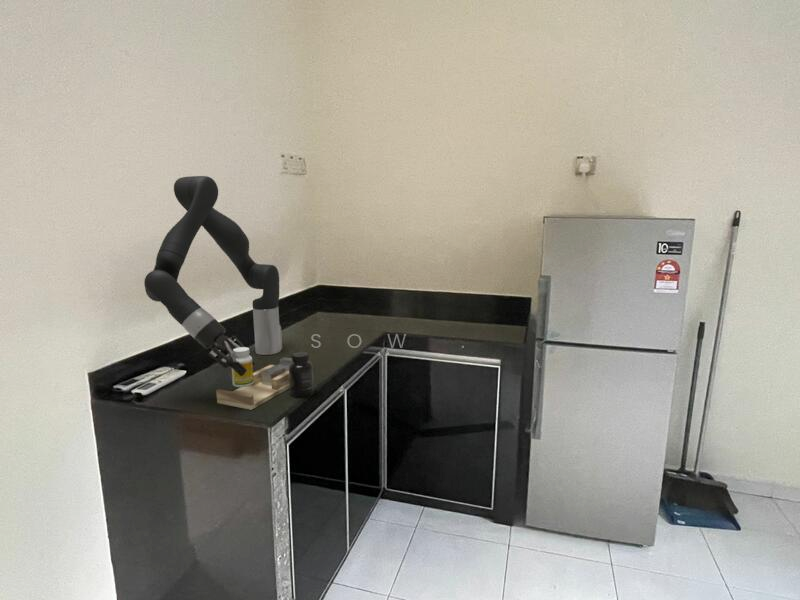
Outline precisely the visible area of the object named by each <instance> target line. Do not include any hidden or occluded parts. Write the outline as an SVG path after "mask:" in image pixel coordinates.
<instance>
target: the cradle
mask: <svg viewBox="0 0 800 600" xmlns="http://www.w3.org/2000/svg"><path fill="white" fill-rule="evenodd" d="M274 366H276V364H269V365H266V366H265V367H263V368H259V369H258V370H256V371H253V384H252V385H250V386H247V387H237V388H236V389H235V390H233V391H231V390H224V389H221V388H220V389H217V390H216V391H215V393H216V403H217V404H220V405H224V406H230V407H236V408H241V409H245V410H250V411H253V409H256V408H257V407H259V406H261V405H263V404H264V403H266V402H268V401H270V400H271V399H273V398H275V397H277V396H278V395H280V394H282V393H284V392H285V391H287V390H288V389H289V390H290V380H289V371H287V372H285V373H283V374H281V375H279V376H277V377H275V378H273V379H271V382H272V386H270V385H264V384H262V379H261V373H262V372H264V371H266V370H268V369H270V368H272V367H274Z"/></svg>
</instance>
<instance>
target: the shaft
mask: <svg viewBox="0 0 800 600" xmlns="http://www.w3.org/2000/svg"><path fill="white" fill-rule="evenodd" d="M291 363H293V362H292V357H282V358H280V359H279V364H277V365H276V364H275V366H274V367H272V368H270V369H268V370H266V371H264V372H262V373H261V379H262V384H264V385H270V386H272V382H271V379H273V378H275V377H277V376H279V375H281V374H283V373H285V372H287V371H289V366H290V364H291Z"/></svg>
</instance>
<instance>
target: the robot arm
mask: <svg viewBox="0 0 800 600" xmlns="http://www.w3.org/2000/svg"><path fill="white" fill-rule="evenodd" d="M173 192H174V196H175V198H176V200H177V201H178V203H179V204H180V205H181V207H182V208H184V209H185V210H186V212H185V214H183V216H182V217H181V219H179V221H177V222H176V224H174V226H172V227H171V228H170V230H169V231H168V232H167V233H166V235H165V236H164V238H163V241H162V242H161V245H160V247H159V249H158V252H157V255H156V258H155V265H154V268H153V270H151V271H150V272H148V273H147V275H145V278H144V283H143V284H144V290H145V293H146V296H147V297H148V298H149V299H150V300H151V301H154V302H157V303H158V302H159V303H161V304H162V305H163V306H164V307H165V308H166V309H167V311H168V313H169V314H170V316H171V317H172V318H173V319H175V320H176V322H177V323H178V324H180V325H181V326H182V327H183V329H185V332H187V333H188V334H189V335H190V337H192V338H193V339H194V340H195V341H197V342H198V344H200V345H201V346H202V347H203V348H204V349H209V348H210V349H211V351H209V353H208V356H209V357H210V358H211V359H213V360H214V361H215V362H216V363H218V364H219V365H220V366H222V368H225V369H227V368H230V369H231V367H232V368H233V369H234V370H235V371H236V372H237V373H238V374H239V375H240V376H243V375H244V374H245V373H246V372H247V370H246V369H245V368H244V367H243V366H242V365H241V364H240V363H239V362H238V361H237V360H236V359H235V357H234V353H233V349H235V348H239V347H246V346H245V345H244V344H243V343H242V341H240V340H239V338H237V336H236V335H232V336H231V337H229V336H227V335H226V331H227V329H226V327H224V326H223V325H222V324H221V322H219V321H218V320H217V319H216V318H215V317H214V316H213V315H212V314H210V313H209V312H208V311H207V310H205V309H204V308H203V307H202V306H201V305H200V304H199V303H198V302H197V301H195V300H194V299H193V298H192V297H191V296H189V294H188V293H187V292H186V290H185V289H184V288H183V287H182V286H181V285H180V283H179V282H178V279H179V275H180V271H181V269H182V267H183V265H184V264H185V260H186V259H187V255H188V253H189V250H190V248H191V245H192V243H193V241H194V239H195V237H196V236H197V233H198V232H199V230H200V229H201V227H203V229H204V230H205V231H206V232H207V233H208V235H210V237H211V238H212V239H213V240H214V242H215V243H216V245H218V246H219V248H220V249H221V251H223V252H224V254H225V255H226V256H227V257H228V258H229V259H230V261H231V262H232V263H233V265H234V266H235V267H236V269H237V270H238V272H239V273H240V275H241V277H242V278H243V280H244V281H245V282H246V285H248V286H249V287H250V288H252V289H256V290H262V295H261V296H260V297H258V298H255V299H253V300H252V315H253V331H254V347H255V354H257V355H262V356H266V355H267V356H268V355H271V356H272V355H275V354H278V353H280V352H281V351H282V350H283V341H282V339H283V337H282V326H281V324H280V314H279V301H280V273H279V269H278V267H276V265H274V264H267V263H266V264H263V263H257V262H256V261H254V260H253V258H252V257H251V256H250V253H249V251H250V240H249V238H248V236H247V235H246V234H245V233H246V232H244V230H243V229H242V228H241V226H240V225H239V224H238V223H237V222H236V221H235V220H233V219H231V218H230V217H228V216H226V215H225V214H223V213H222V212H220V211H218V210H217V209H215V208H214V207H215V205H216V203H217V200H218V196H219V187H218V184H217V182H216V181H215V179H214V178H212V177H210V176H207V175H194V176H191V175H190V176H182V177H179V178H177V179H176V180H175V181H174V185H173ZM252 361H253V367H254V366H255V365H256V362H255V361H254V360H253V359H252Z"/></svg>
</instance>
